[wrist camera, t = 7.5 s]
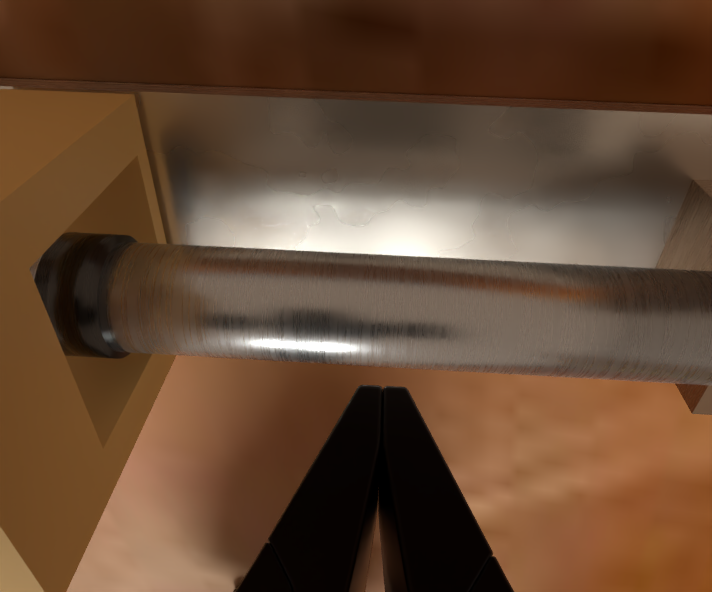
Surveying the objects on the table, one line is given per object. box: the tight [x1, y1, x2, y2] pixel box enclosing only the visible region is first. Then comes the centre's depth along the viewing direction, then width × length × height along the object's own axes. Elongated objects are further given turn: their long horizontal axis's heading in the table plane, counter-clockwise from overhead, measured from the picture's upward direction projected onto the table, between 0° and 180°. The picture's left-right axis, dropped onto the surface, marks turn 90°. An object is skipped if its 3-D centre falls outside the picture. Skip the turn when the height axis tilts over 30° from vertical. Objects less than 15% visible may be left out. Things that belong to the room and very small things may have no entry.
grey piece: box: [0, 78, 712, 415], centre depth 13 cm, size 24×7×5 cm, turn 89°
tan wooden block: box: [0, 89, 176, 592], centre depth 11 cm, size 3×7×8 cm, turn 179°
